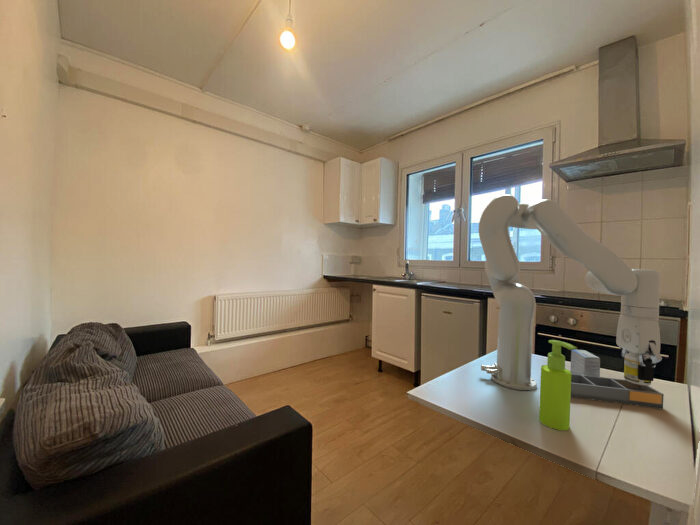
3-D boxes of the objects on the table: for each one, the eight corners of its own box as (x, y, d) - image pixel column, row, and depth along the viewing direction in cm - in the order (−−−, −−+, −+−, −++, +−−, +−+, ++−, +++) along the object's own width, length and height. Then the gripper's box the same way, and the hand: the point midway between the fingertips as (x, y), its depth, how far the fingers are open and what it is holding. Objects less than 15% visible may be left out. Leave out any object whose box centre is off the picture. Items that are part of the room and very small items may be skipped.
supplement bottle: (646, 380, 80) (647, 346, 80) (654, 388, 76) (655, 352, 75) (621, 376, 83) (622, 343, 83) (627, 383, 78) (628, 348, 78)
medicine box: (600, 385, 89) (601, 358, 88) (584, 383, 89) (585, 356, 89) (584, 374, 96) (585, 350, 96) (569, 373, 97) (570, 348, 97)
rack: (564, 396, 80) (564, 382, 80) (551, 384, 88) (552, 371, 88) (663, 409, 74) (664, 394, 74) (640, 394, 82) (641, 381, 82)
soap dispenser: (561, 435, 62) (564, 347, 62) (533, 418, 69) (536, 338, 69) (580, 431, 64) (583, 345, 64) (551, 414, 71) (554, 336, 70)
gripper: (604, 306, 88) (602, 363, 89) (645, 317, 72) (643, 387, 72) (633, 308, 86) (631, 365, 87) (683, 319, 70) (680, 391, 70)
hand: (637, 374), depth 79 cm, fingers closed on supplement bottle, 5 cm apart
